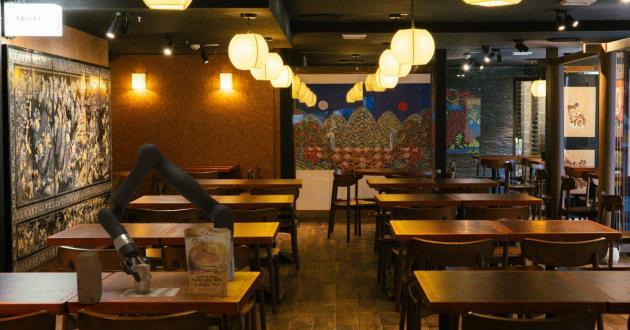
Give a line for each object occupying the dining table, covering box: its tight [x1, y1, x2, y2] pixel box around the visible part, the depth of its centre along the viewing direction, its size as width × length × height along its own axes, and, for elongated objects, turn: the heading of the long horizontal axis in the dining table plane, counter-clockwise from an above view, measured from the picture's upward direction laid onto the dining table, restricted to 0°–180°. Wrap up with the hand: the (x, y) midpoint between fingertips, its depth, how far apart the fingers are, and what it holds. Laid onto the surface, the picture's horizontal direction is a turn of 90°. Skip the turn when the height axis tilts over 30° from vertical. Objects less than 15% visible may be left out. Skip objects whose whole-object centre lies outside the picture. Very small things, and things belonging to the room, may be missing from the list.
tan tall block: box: [133, 264, 151, 294], centre depth 310 cm, size 5×5×11 cm
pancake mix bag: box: [183, 227, 231, 298], centre depth 308 cm, size 7×19×28 cm, turn 86°
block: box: [76, 250, 103, 305], centre depth 302 cm, size 11×8×20 cm
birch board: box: [119, 287, 181, 298], centre depth 311 cm, size 22×14×2 cm, turn 89°
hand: (144, 279), depth 309 cm, fingers closed on tan tall block, 4 cm apart
